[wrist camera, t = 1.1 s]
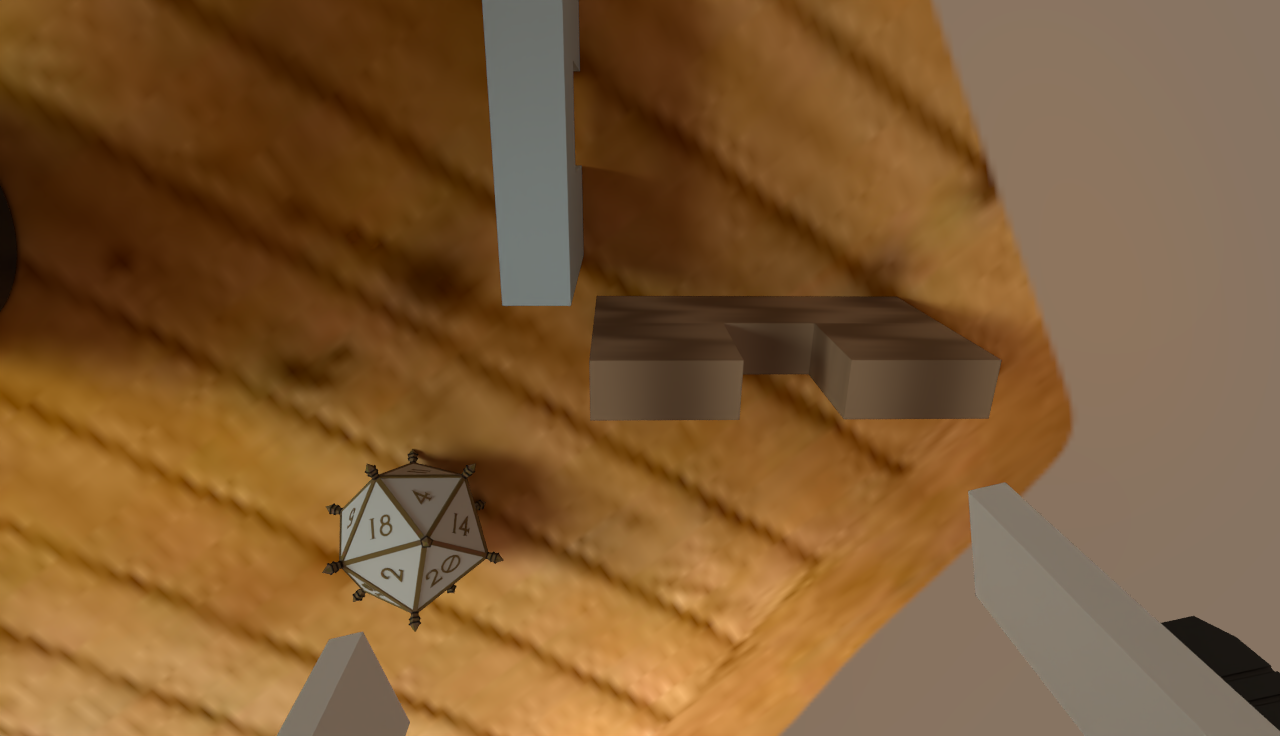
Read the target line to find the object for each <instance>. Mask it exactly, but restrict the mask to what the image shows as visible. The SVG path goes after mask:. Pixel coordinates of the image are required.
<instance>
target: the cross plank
mask: <svg viewBox="0 0 1280 736" xmlns="http://www.w3.org/2000/svg"><path fill="white" fill-rule="evenodd" d="M482 7H483V22H484V37H485V52H486V67H487V82H488V97H489V112H490V127H491V142H492V158H493V173H494V188H495V203H496V218H497V233H498V248H499V263H500V278H501V293H502V306H571V303H572V299H573V295H574V291H575V287H576V283H577V279H578V275H579V271H580V268H581V264H582V260H583V256H584V247H583V197H582V166H575V133H574V91H573V71H580V47H579V0H482Z"/></svg>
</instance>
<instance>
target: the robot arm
mask: <svg viewBox="0 0 1280 736" xmlns="http://www.w3.org/2000/svg"><path fill="white" fill-rule="evenodd" d="M16 260H17V248H16V237H15V231H14V225H13V221H12V217H11V213H10V210H9V207H8V204H7V201H6V198H5V196H4V193H3V191H2V188H1V186H0V311H1V309H2V308H3V306H4V304H5V303H6V301H7V299H8V296H9V294H10V291H11V288H12V285H13V281H14V277H15V271H16ZM968 495H969V509H970V524H971V538H972V552H973V567H974V582H975V595H976V596H977V598H978V599H979V600H980V601H981V603H982V604H983V605H984V607H985V608H986V609H987V610H988V612H989V613H990V614H991V616H992V617H993V618H994V619H995V621H996V622H997V623H998V625H999V626H1000V627H1001V628H1002V630H1003V631H1004V632H1005V634H1006V635H1007V636H1008V638H1009V639H1010V640H1011V641H1012V643H1013V644H1014V645H1015V647H1016V648H1017V649H1018V650H1019V652H1020V653H1021V654H1022V656H1023V657H1024V658H1025V659H1026V661H1027V662H1028V663H1029V665H1030V666H1031V667H1032V669H1033V670H1034V671H1035V672H1036V674H1037V675H1038V676H1039V678H1040V679H1041V680H1042V681H1043V683H1044V684H1045V685H1046V687H1047V688H1048V689H1049V690H1050V692H1051V693H1052V694H1053V696H1054V697H1055V698H1056V699H1057V701H1058V702H1059V703H1060V705H1061V706H1062V707H1063V708H1064V710H1065V711H1066V712H1067V714H1068V715H1069V716H1070V717H1071V719H1072V720H1073V721H1074V723H1075V724H1076V725H1077V727H1078V728H1079V729H1080V730H1081V732H1082V733H1083V734H1084V735H1085V736H1280V673H1279V672H1278V671H1277V672H1275V671H1273V670H1272V668H1271V665H1269V664H1268V663H1267V662H1266V661H1265V660H1263V659H1262V658H1261V657H1260V656H1258V655H1257V654H1256V653H1255V652H1254V651H1252V650H1251V649H1250V648H1249V647H1247V646H1246V645H1245V644H1244V643H1243V642H1241V641H1240V640H1239V639H1238V638H1236V637H1235V636H1233V635H1231V634H1229V633H1227V632H1225V631H1223V630H1221V629H1219V628H1217V627H1215V626H1213V625H1211V624H1208V623H1207V622H1205V621H1203V620H1201V619H1199V618H1197V617H1195V616H1191V617H1186V618H1182V619H1178V620H1173V621H1169V622H1164V623H1160V622H1159V621H1158V620H1157V619H1155V618H1154V617H1153V616H1152V615H1151V614H1150V613H1149V612H1148V611H1147V610H1145V609H1144V608H1143V607H1142V606H1141V605H1140V604H1139V603H1138V602H1136V601H1135V600H1134V599H1133V598H1132V597H1131V596H1130V595H1129V594H1128V593H1127V592H1126V591H1124V590H1123V589H1122V588H1121V587H1120V586H1119V585H1118V584H1117V583H1116V582H1115V581H1113V580H1112V579H1111V578H1110V577H1109V576H1108V575H1107V574H1106V573H1105V572H1104V571H1102V570H1101V569H1100V568H1099V567H1098V566H1097V565H1096V564H1095V563H1094V562H1093V561H1091V560H1090V559H1089V558H1088V557H1087V556H1086V555H1085V554H1084V553H1083V552H1082V551H1080V550H1079V549H1078V548H1077V547H1076V546H1075V545H1074V544H1073V543H1072V542H1070V541H1069V540H1068V539H1067V538H1066V537H1065V536H1064V535H1063V534H1061V532H1059V531H1058V530H1057V529H1056V528H1055V527H1054V526H1053V525H1052V524H1051V523H1049V522H1048V521H1047V520H1046V519H1045V518H1044V517H1043V516H1042V515H1041V514H1039V513H1038V512H1037V511H1036V510H1035V509H1034V508H1033V507H1032V506H1031V505H1030V504H1029V503H1027V502H1026V501H1025V500H1024V499H1023V498H1022V497H1021V496H1020V495H1019V494H1018V493H1016V492H1015V491H1014V490H1013V489H1012V488H1011V487H1010V486H1009V485H1008V484H1006V483H1000V484H996V485H992V486H987V487H983V488H979V489H974V490H970V491H968ZM409 723H410V721H409V719H408V718H407V716H406V714H405V712H404V710H403V708H402V706H401V704H400V702H399V700H398V698H397V696H396V694H395V693H394V691H393V689H392V687H391V685H390V683H389V681H388V679H387V677H386V675H385V673H384V671H383V669H382V667H381V666H380V664H379V662H378V660H377V658H376V656H375V654H374V652H373V650H372V648H371V646H370V644H369V642H368V641H367V639H366V637H365V635H364V633H363V632H359V633H355V634H351V635H346V636H342V637H338V638H333V639H329V641H328V643H327V644H326V646H325V648H324V650H323V652H322V654H321V655H320V657H319V659H318V661H317V663H316V665H315V666H314V668H313V670H312V672H311V674H310V676H309V678H308V679H307V681H306V683H305V685H304V687H303V689H302V690H301V692H300V694H299V696H298V698H297V700H296V701H295V703H294V705H293V707H292V709H291V711H290V712H289V714H288V716H287V718H286V720H285V722H284V724H283V725H282V727H281V729H280V731H279V733H278V735H277V736H405V735H406V732H407V729H408V726H409Z"/></svg>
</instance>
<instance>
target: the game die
mask: <svg viewBox="0 0 1280 736" xmlns="http://www.w3.org/2000/svg"><path fill="white" fill-rule="evenodd" d="M417 456H418V454H417V453H416V452H415V451H414V450H413V449H412V451H411V452H410V453H409V454H408V457H409V458H408V460H409V461H410V463H409V464H406V465H404V466H401V467H398V468H395V469H393V470H390V471H387V472H385V473H382V474H378V469H376V466H375V465H374V466H373V465H370V464H367V465H366V471H365V473H367V474H368V475H367V476H369V477H371V478H372V479H371V480H370V481H369V482H368V483H367V484H366V485H365V486H364V487H363V488H362V490H361V491H360V492H359V493H358V494H357V495H356V496H355V497H354V498H353V499H352V500H351V501H350V502H349V503H348V504H347V505H346V506H345V507H344V508H340V506H339V505H335V504H333V505H330V506H327V507H326V508H327V509H328V511H329V514H334V515H336V514H339V515H340V550H339V561H338V562H334V561H333V562H332V563H331V564H329V563H327V566H326V568H325V569H324V571H323V572H322V573H327V574H330V575H332V574H333V573H334V572H335V573H336V572H337V571H339V569H341V568H342V569H343V570H344V571H345V572H346V573H347V574H348V575H349V577H350V578H351V579H352V580H353V581H354V582H355V583H356V584H357V585H358V586H359V587H360V588H361V589H359V590H357V591H356V593H354V594H353V602H355V601H359V600H360V601H362V598H363V597H365V593H368V594H371V595H373V596H375V597H377V598H379V599H381V600H384V601H386V602H388V603H390V604H392V605H394V606H397V607H399V608H401V609H403V610H405V611H407V612H410V613H411V617H410V619H409V620H410V624H409V625H410V626H411V627H412V629H413V630H414V631H415V632H416V630H417V628H418V626H419V625H420V624H421V622H420V619H421V618H420V617H419V615H418V613H419V612H420V611H421V610H422V609H423V608H425V607H426V606H427V605H428V604H430V603H431V602H432V601H433V600H435V599H436V598H437V597H438V596H440V595H441V594H442V593H444V592H445V591H446V590H447V593H454V592H455V588H456V586H455V585H454V584H455V583H456V582H457V581H459V580H460V579H461V578H462V577H464V576H465V575H466V574H467V573H469V572H470V571H471V570H472V569H474V568H475V567H476V566H477V565H479V564H480V563H481V562H482V561H484V560H485V559H488V560H490V562H494V563H495V564H496V563H497V562H500V561H503V559H502V557H501V556H500V555H499V553H495V552H493V553H490V552H488V549H487V546H486V542H485V539H484V535H483V531H482V528H481V524H480V521H479V517H478V514H477V510H480V509H483V508H484V505H485V503H486V502H483V501H481V500H479V501H477V502H476V503H474V500H473V497H472V493H471V490H470V487H469V483H468V480H467V477H468V476H471V475H472V473H474V472H475V465H476V464H472V465H466V468H465V469H463V470H464V471H463V473H462V474H458V473H454V472H450V471H446V470H443V469H439V468H435V467H431V466H427V465H423V464H419V463H416V461H417V459H418V458H417Z"/></svg>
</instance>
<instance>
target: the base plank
mask: <svg viewBox="0 0 1280 736" xmlns="http://www.w3.org/2000/svg"><path fill="white" fill-rule="evenodd" d="M589 365H590V420H739V419H740V405H741V391H742V377H743V374H809V375H810V376H811V378H812V379H813V380H814V382H815V383H816V384H817V385H818V387H819V388H820V389H821V391H822V392H823V393H824V394H825V396H826V397H827V398H828V399H829V401H830V402H831V403H832V405H833V406H834V407H835V408H836V410H837V411H838V412H839V414H840V415H841V416H842V417H843V419H988V418H989V415H990V410H991V406H992V401H993V397H994V392H995V387H996V383H997V378H998V374H999V369H1000V365H1001V359H999V358H997V357H996V356H994V355H992V354H991V353H989V352H987V351H986V350H984V349H982V348H981V347H979V346H977V345H976V344H974V343H972V342H971V341H969V340H967V339H966V338H964V337H962V336H961V335H959V334H957V333H956V332H954V331H952V330H951V329H949V328H948V327H946V326H944V325H943V324H941V323H939V322H938V321H936V320H934V319H933V318H931V317H929V316H928V315H926V314H924V313H923V312H921V311H919V310H918V309H916V308H914V307H913V306H911V305H909V304H908V303H906V302H904V301H903V300H901V299H899V298H898V297H792V296H597V299H596V308H595V317H594V325H593V334H592V343H591V351H590V360H589Z"/></svg>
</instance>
